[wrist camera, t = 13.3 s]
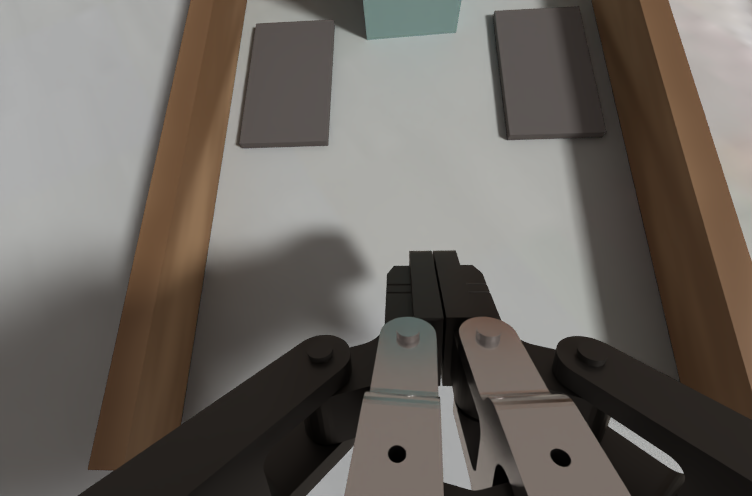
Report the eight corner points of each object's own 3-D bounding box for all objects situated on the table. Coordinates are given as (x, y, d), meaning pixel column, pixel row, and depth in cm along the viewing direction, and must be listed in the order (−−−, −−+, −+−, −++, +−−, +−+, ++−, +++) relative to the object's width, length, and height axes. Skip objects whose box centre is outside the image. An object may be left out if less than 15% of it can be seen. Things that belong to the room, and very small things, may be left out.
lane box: (148, 449, 15) (-12, 503, 9) (237, -56, 24) (186, -189, 18) (733, 463, 13) (984, 538, 8) (593, -80, 22) (659, -233, 17)
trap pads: (242, 148, 19) (239, 143, 18) (258, 29, 21) (256, 23, 21) (601, 137, 18) (606, 131, 17) (575, 13, 20) (579, 6, 20)
